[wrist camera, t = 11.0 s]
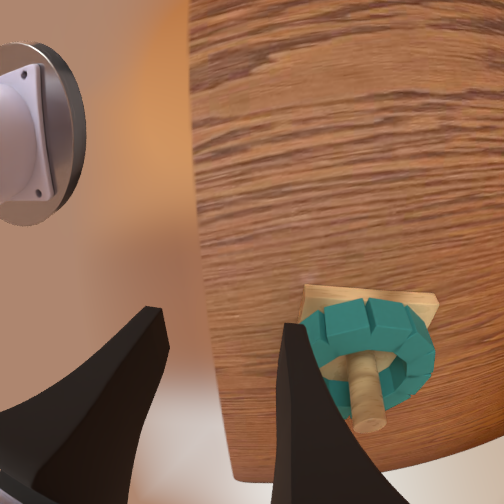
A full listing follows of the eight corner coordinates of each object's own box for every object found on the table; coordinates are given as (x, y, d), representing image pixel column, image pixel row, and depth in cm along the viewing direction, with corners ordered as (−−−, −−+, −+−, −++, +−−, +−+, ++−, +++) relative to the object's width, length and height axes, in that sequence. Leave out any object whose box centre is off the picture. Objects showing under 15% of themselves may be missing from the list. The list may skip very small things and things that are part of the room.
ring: (267, 386, 23) (265, 411, 21) (303, 285, 17) (304, 314, 15) (385, 397, 23) (389, 420, 21) (450, 309, 17) (463, 335, 15)
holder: (287, 371, 24) (282, 453, 18) (304, 283, 19) (307, 383, 13) (391, 374, 23) (405, 449, 17) (434, 292, 18) (471, 378, 12)
